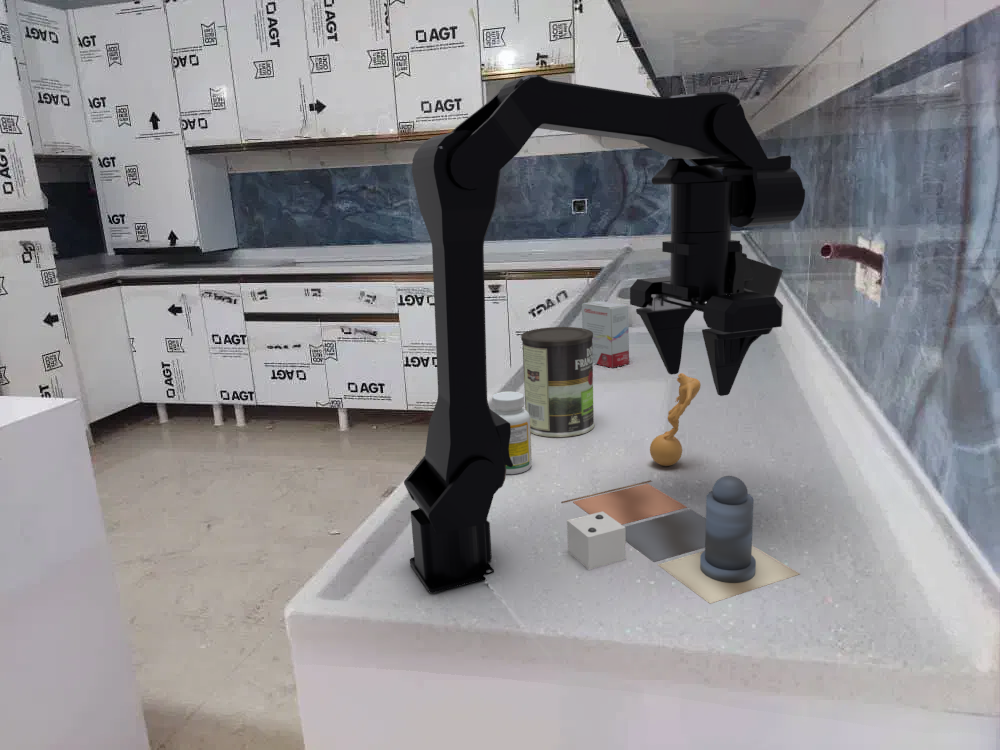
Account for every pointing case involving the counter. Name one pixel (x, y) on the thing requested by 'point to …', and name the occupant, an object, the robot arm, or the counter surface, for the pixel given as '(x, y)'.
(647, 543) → the game board
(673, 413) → the figurine
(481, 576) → the robot arm
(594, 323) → the ink box
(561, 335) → the coffee can
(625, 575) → the counter surface
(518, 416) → the supplement bottle
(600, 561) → the white die
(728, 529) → the pawn
